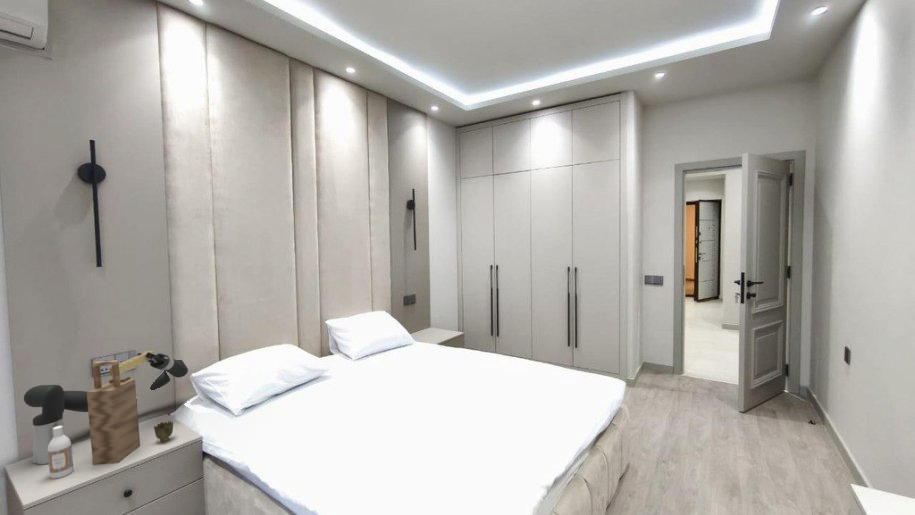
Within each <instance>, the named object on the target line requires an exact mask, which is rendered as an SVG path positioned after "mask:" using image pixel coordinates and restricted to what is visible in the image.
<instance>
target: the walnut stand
mask: <svg viewBox="0 0 915 515" xmlns="http://www.w3.org/2000/svg"><path fill="white" fill-rule="evenodd" d="M119 361H120V360H119V359H117V360H116V359H115V360H103V361H102V360H100V361H99V360H98V361H93V362H91V364H92V374H93V376H92V377H93V387H94V388H93V389H91V390H89V391H87V402H88V412H87V413H88V422H89V423H88V424H89V436H90V446H91V457H92V459H91V460H92V465H93V466H98V465H108V464H110V465H111V464H119V463H121V462H122V461H123V460H124V459H125V458H127V457H128V456H129V455H131V454H132V453H133V452H134V451H136V450H137V449H138V448H140V446H141V442H140V441H141V439H140V428H139V427H140V426H139V416H138V415H139V414H138V406H137V399H136V396H137V388H136V387H137V386H136V379H135V378H131V376H127V377H125V378H123V379H121V374H120V373H119V364H120V362H119ZM103 366H104V367H105V366H106V367H107V366H111V367H112V378H111V379H110V380H108V381H107V382H105V383H104V384H102V371H101V367H103Z"/></svg>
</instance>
